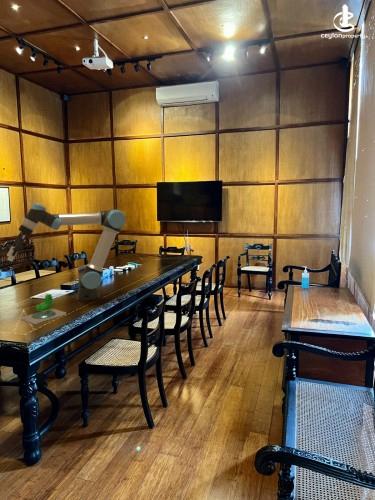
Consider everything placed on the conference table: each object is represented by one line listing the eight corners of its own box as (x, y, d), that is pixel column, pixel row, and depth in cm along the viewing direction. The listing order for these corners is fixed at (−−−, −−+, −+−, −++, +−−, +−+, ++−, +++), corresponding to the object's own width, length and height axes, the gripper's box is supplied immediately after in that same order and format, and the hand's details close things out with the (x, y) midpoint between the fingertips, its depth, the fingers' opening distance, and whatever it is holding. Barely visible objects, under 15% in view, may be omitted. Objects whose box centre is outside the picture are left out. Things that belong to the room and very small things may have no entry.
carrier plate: (52, 310, 216) (52, 308, 216) (66, 314, 208) (65, 312, 207) (21, 319, 200) (20, 317, 200) (34, 324, 192) (34, 321, 191)
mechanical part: (43, 305, 228) (42, 293, 227) (52, 305, 227) (51, 293, 226) (33, 310, 216) (32, 298, 215) (43, 311, 215) (42, 298, 214)
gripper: (20, 222, 217) (2, 252, 215) (23, 226, 195) (3, 259, 193) (31, 227, 220) (14, 257, 218) (35, 232, 199) (16, 265, 197)
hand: (9, 258), depth 206 cm, fingers open, 13 cm apart
